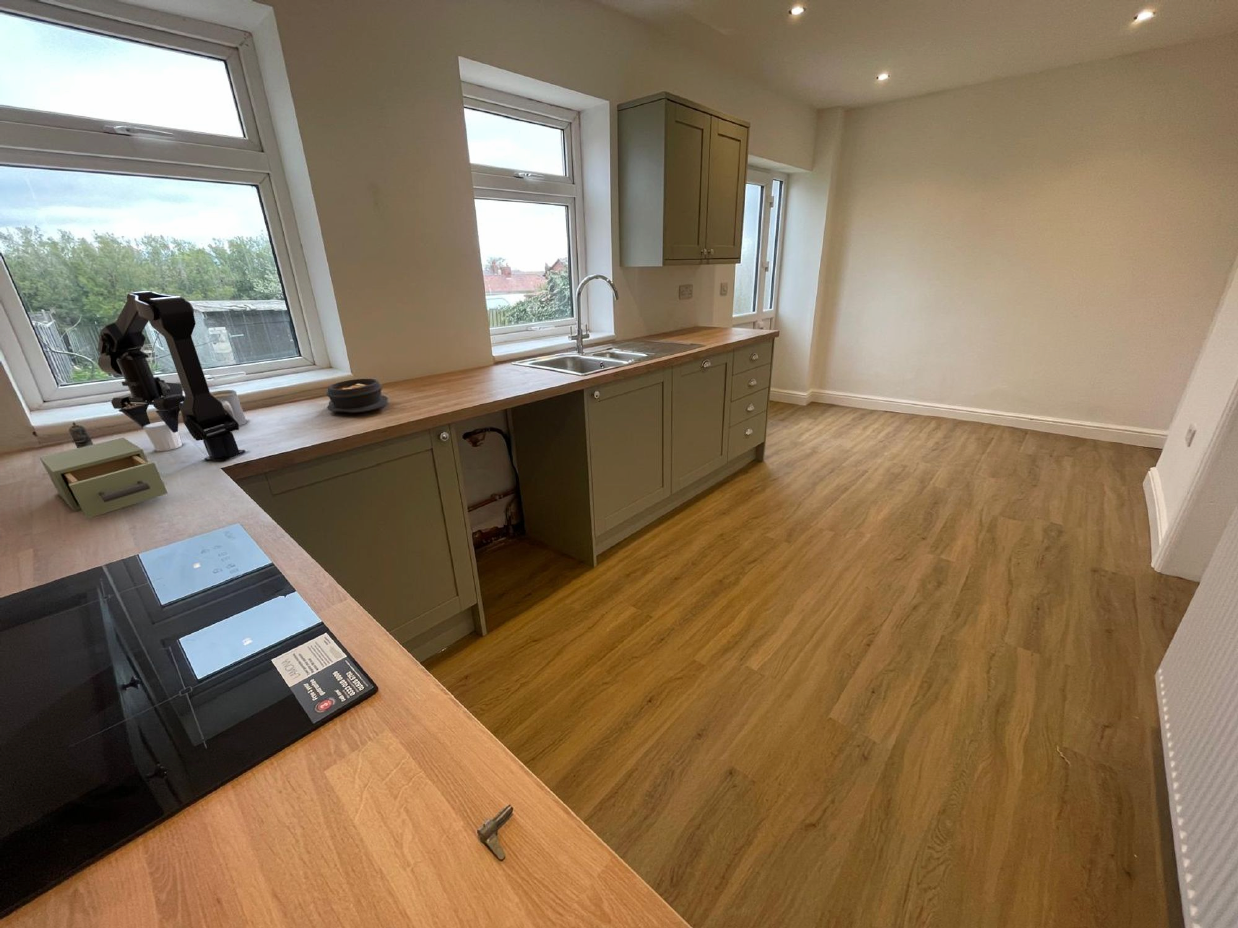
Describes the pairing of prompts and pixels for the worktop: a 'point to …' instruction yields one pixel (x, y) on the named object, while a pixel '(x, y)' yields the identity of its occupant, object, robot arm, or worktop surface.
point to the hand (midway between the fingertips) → (162, 431)
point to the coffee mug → (230, 405)
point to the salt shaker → (80, 436)
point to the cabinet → (85, 462)
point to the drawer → (114, 484)
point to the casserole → (356, 396)
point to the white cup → (162, 436)
